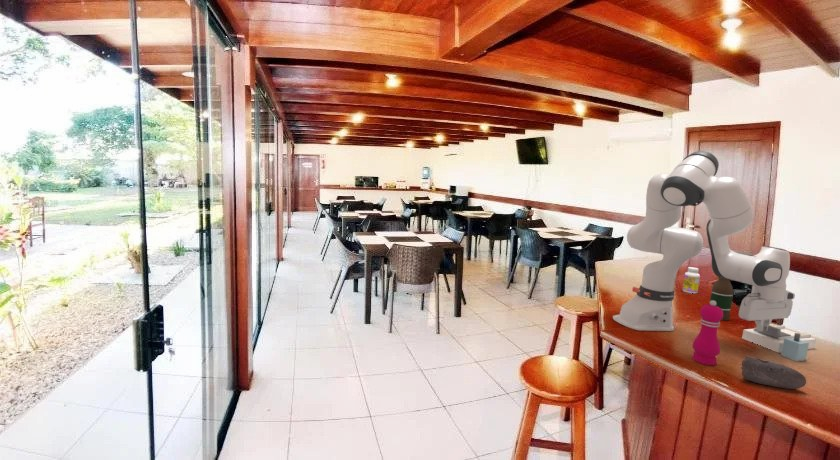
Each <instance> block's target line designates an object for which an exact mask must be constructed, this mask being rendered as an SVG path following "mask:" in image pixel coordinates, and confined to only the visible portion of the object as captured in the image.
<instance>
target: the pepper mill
mask: <svg viewBox="0 0 840 460" xmlns="http://www.w3.org/2000/svg"><path fill="white" fill-rule="evenodd" d="M709 304H710V305H709ZM709 304H704V305H703V306H701V307H700V310H699V316H701V318H700V324H701V325H700V326H701V327H700V330H699V333H698V334H697V336H696V337H695V338H694V340H693V342H692V349H693V350H694V351H693V354H692V359H693V360H694V361H696V362H697V363H700V364H703V365H707V366H715V365H716V364H717V361H718V358H717V356H718V355H720V353H721V345H720V343H719V339H718V329H719V327H720V326H721V322H720V321H722V320H721V319H722V318H723V311H722V309H721V308H719V307H718V306H715V305H716V304H717V303H716V301H714V300H712V301H710V300H709Z"/></svg>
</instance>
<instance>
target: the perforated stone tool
mask: <svg viewBox="0 0 840 460" xmlns="http://www.w3.org/2000/svg"><path fill="white" fill-rule="evenodd" d="M741 366H742V367H740V369H741V375H742V377H743V378H744V380H746V381H750V382H752V383H755V384H759V385H764V386H770V387H775V388H780V389H787V390H798V389H801V388H804V387H805V386H806V384H807V378H806V376H804V375H803V374H802V373H801V372H799V371H798V370H796V369H794V368H792V367H789V366H787V365H784V364H782V363H778V362H774V361H770V360H765V359H762V358H758V357H753V356H748V355H746V356H745V358H744V360H742V361H741Z"/></svg>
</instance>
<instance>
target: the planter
mask: <svg viewBox="0 0 840 460" xmlns="http://www.w3.org/2000/svg"><path fill="white" fill-rule="evenodd" d="M733 251H734V252H736V253H739V254H743V255H749V256H754V254H753V253H751V252H744V251H738V250H733Z"/></svg>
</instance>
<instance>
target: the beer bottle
mask: <svg viewBox="0 0 840 460" xmlns="http://www.w3.org/2000/svg"><path fill="white" fill-rule="evenodd" d="M733 288H734V287H733V285H732V283H731V281H730V280H729V279H724V278H719V277H718V279H717V280H716V281H715V282H714V283H713V285H712V287H711V292H710V300H709V302H710V301H712V300H714V301H716V303H717V304H716V305H715V306H718V307H719V308H721V309H722V311H723V318H722V319H721V320H720V321H729V320H730V316H731V309H732V304H733V303H732V302H733V297H734V289H733ZM708 305H710V303H709V304H708Z"/></svg>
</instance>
